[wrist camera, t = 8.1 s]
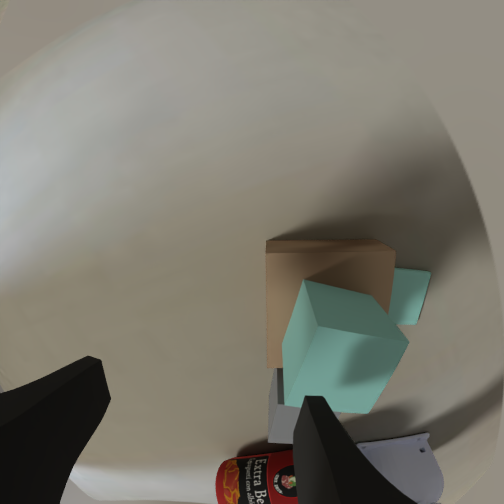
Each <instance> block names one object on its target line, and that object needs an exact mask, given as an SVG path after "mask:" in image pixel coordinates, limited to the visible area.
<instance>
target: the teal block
mask: <svg viewBox="0 0 504 504" xmlns="http://www.w3.org/2000/svg"><path fill="white" fill-rule="evenodd" d="M408 344H409V341H408V339H407V338H406V337H405V336H404V334H403V333H402V332H401V331H400V329H399V328H398V327H397V326H396V324H395V323H394V322H393V321H392V319H391V318H390V317H389V316H388V315H387V313H386V312H385V311H384V310H383V308H382V307H381V306H380V305H379V304H378V302H377V301H376V300H375V299H374V298H373V296H372V295H367V294H363V293H359V292H355V291H350V290H346V289H342V288H338V287H333V286H329V285H325V284H321V283H317V282H312V281H308V280H304V279H303V282H302V285H301V288H300V291H299V294H298V297H297V300H296V304H295V307H294V310H293V313H292V316H291V319H290V322H289V325H288V328H287V331H286V333H285V336H284V339H283V342H282V357H283V380H284V405H286V406H293V407H300V408H301V407H302V403H303V400H304V397H305V395H309V396H323V397H324V398H325V399H326V401H327V403H328V404H329V406H330V408H331V409H332V411H335V412H347V413H364V414H368V413H369V411H370V410H371V408H372V407H373V405H374V404H375V402H376V400H377V399H378V397H379V396H380V394H381V392H382V391H383V389H384V388H385V386H386V384H387V383H388V381H389V379H390V377H391V376H392V374H393V372H394V370H395V369H396V367H397V365H398V363H399V361H400V359H401V358H402V356H403V354H404V352H405V350H406V348H407V346H408Z"/></svg>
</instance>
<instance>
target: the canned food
mask: <svg viewBox="0 0 504 504" xmlns="http://www.w3.org/2000/svg"><path fill="white" fill-rule="evenodd" d="M216 496H217V501H218V504H298V498H297V489H296V481H295V472H294V463H293V449H292V450H286V451H281V452H274V453H268V454H261V455H253V456H244V457H234V458H231V459H228V460H226V461H224V462H223V463H222V464H221V465H220V467H219V469H218V472H217V476H216Z"/></svg>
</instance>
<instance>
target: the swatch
mask: <svg viewBox="0 0 504 504" xmlns="http://www.w3.org/2000/svg"><path fill="white" fill-rule="evenodd" d="M430 276H431V272H429V271H422V270H414V269H405V268H396V267H395V270H394V278H393V286H392V294H391V300H390V307H389V313H388V316H389V317H390V318H391V319H392V321H393V322H394V323H395V324H412V325H416V323H417V320H418V317H419V314H420V311H421V308H422V305H423V301H424V298H425V294H426V291H427V287H428V284H429V280H430Z"/></svg>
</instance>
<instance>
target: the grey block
mask: <svg viewBox="0 0 504 504" xmlns="http://www.w3.org/2000/svg"><path fill="white" fill-rule="evenodd" d="M300 410H301V408H300V407H293V406H286V405H284V380H283V368H274V373H273V378H272V384H271V389H270V394H269V422H268V443H285V444H293V431H294V428H295V425H296V422H297V419H298V416H299V413H300ZM333 412H334V414H335V416H336V417H337V419H338V418H339V416H340V414H341V412H335V411H333Z"/></svg>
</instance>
